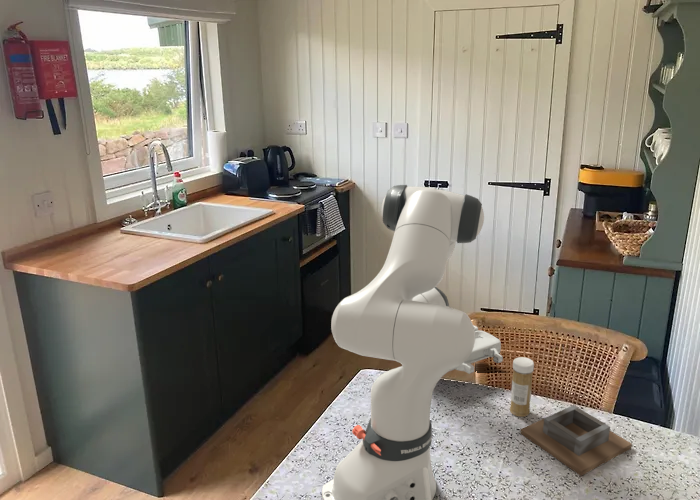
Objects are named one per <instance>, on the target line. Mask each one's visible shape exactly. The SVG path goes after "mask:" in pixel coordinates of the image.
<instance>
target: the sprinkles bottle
mask: <svg viewBox="0 0 700 500" xmlns="http://www.w3.org/2000/svg"><path fill="white" fill-rule="evenodd" d="M534 369H535V362H534V361H533V360H532V359H531V358H528V357H525V356H524V357H523V356H520V357H519V356H518V357H516V358H514V359H513V362H512V371H513V372H512V380H511V391H510V392H511V395H510V407H509V411H510V413H511V414H512V415H513V416H515V417H520V418H521V417H523V418H524V417H527V416H529V414H530V411H531V410H530V408H531V407H530V406H531V405H530V404H531V400H532V399H531V397H532V383H533V382H532V381H533V372H534Z"/></svg>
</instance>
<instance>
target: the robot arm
mask: <svg viewBox="0 0 700 500" xmlns="http://www.w3.org/2000/svg"><path fill="white" fill-rule="evenodd" d="M482 206H483V203H482V202H481V200H480V199H479V198H477V197H475V196H473V195H469V194H466V193H465V195H464V194H460V193H457V192H454V191H449V190H444V189H437V188H436V187H429V186H427V187H426V186H408V185H407V184H398V185H394V186H391V188H389V189H387V192H386V194H385V196H384V198H383V200H382V203H381V211H380V212H381V217H382V223H383V225H384V226H385V227H386V228H387V229H389V230H390V231H392V232H394V233H393V236H392V240H391V244H390V247H389V250H388V253H387V256H386V260H385V261H384V263H383V266H382V268H381V269H380V271H379V272H378V273H377V275H376V276H375V277H374V278H373V279H372V280H371V281H370V282H369V283H368V284H367V285H366V286H364V287H363V288H362V289H360V290H358V291H356V292H355V293H353V294H350V295H348V296H346V297H344V298H343V299H341V300H340V302H339V303H338V304H337V306H336V307H335V309H334V311H333V313H332V315H331V320H330V321H331V322H330V323H331V324H330V325H331V326H330V327H331V328H330V330H331V333H332V336H333V339H334V341H335V343H336V344H337V346H338V347H339V348H341V349H344V350H346V351H349V352H351V353H354V354H357V355H359V356H363V357H369V358H376V359H381V360H382V359H383V360H387V361H395V362H397V363H400V364H401V366H398V367H395V368H392V369H390V370H387V371H385V372H384V373H382V374H380V375H379V376H377V378H376V379H375V380H374V382H373V383H372V385H371V388H370V418H369V421H368V423H367V426H366V428H365V429H364V428H363V427H362V426H361V425H360V424H357V425H355V426H354V427H353V428H352V430H351V431H352V434H353V436H355V437H356V438H357V439H358V440H360V442H359V443H358V444H357V445H355V447H354V448H353V449H352V450H351V451H350V452H349V453H348V454H347V455H346V456H345V457H344V458H343V459H342V460H341V461H340V462H339V463H337V465H336V468H335V471H334V474H333V478H332V479H331V480H329V481H328V482H327V483H324V484H323V485H322V488H321V491H322V492H321V499H322V500H434V497H435V495H436V493H437V481H436V479H435V475H434V471H433V467H432V460H431V459H432V458H431V448H430V447H431V444H432V440H433V439H432V438H433V432H432V431H433V428H432V427H433V426H432V425H433V424H432V421H431V420H430V419H431V405H432V398H433V393H434V390H435V388H436V386H437V384H438V382H440V380H441V378H443V376H445V375H446V374H447V373H449V372H452V371H454V370H456V371H460V372H465V373H466V374H469V375H470V374H473V373H475V366H474V365H473V364H475V363H477V362H479V361H482V360H485V359H488V358H493V362H494V363H496V364H500V363H503V360H504V358H503V355H501V354H500V353H501V349H502V343H501V340H500V339H499V338H498V337H495V336H494V335H492V334H491V333H490V332H488V331H487V332H486V331H484V330H479V327H478V326H477V325H474V324H473V322H472V319H471V318H470V317H469V315H468V314H467V313H466V312H465V311H463V310H459V309H457V308H453V307H450V304H449V299H448V297H447V295H446V294H445V293H444V292H443V291H442V290H441V289H439V287H437V286H438V285H439V284H441V281H442V280H443V278H444V276H445V272H446V266H447V262H448V261H449V260H450V258H451V256H452V254H453V253H454V251H455V247H456V244H469V243H473V241H475V240H476V239H477V236H478V235H479V234H480V232H481V231H482V229H483V225H484V220H485V214H484V212H485V211H484V209H483V207H482Z"/></svg>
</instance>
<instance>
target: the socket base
mask: <svg viewBox="0 0 700 500" xmlns="http://www.w3.org/2000/svg"><path fill="white" fill-rule="evenodd" d="M519 431H520V432H519V434H520V435H521V436H523V437H525V439H528V440H529V441H530V442H531V443H533V444H534V445H536V446H537V447H539V448H540V449H542V450H543V451H545V452H546V454H547V453H548V454H549V455H550V456H552V457H553V458H554V459H556V460H558V462H560V463H561V464H563V465H564V466H566V467H568V469H570V470H572V471H573V472H575V474H577V475H579V476H580V477H582V476H584V475H585V474H588V473H589V472H591V471H593V470H595V469H597V468H599V467H600V466H602V465H604V464H605V463H607V462H610V461H611V460H613V459H614V458H617V457H618V456H621V455H622V454H624V453H626V452H627V451H629V450H632V446H633V444H632V443H631V442H630V441H628V440H627V439H624V438H623V437H622V436H620V435H618V434H617V433H614V432H613V431H612V430H611V426H610V425H608V424H607V423H606V422H605V423H604V422H603V421H601V420H599V419H598V418H596V417H594V416H593V415H591V414H590V413H588V412H586V411H584V410H582V409H581V408H579V407H578V406H576V405H574V404H573V405H571V406H569V407H566V408H564V409H561V410H560V411H558V412H555V413H552V414H551V415H548V416H547V417H544V418H542V419H540V420H538V421H535V422H533V423H531V424H529V425H527V426H524V427H522V428H520V430H519Z"/></svg>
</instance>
